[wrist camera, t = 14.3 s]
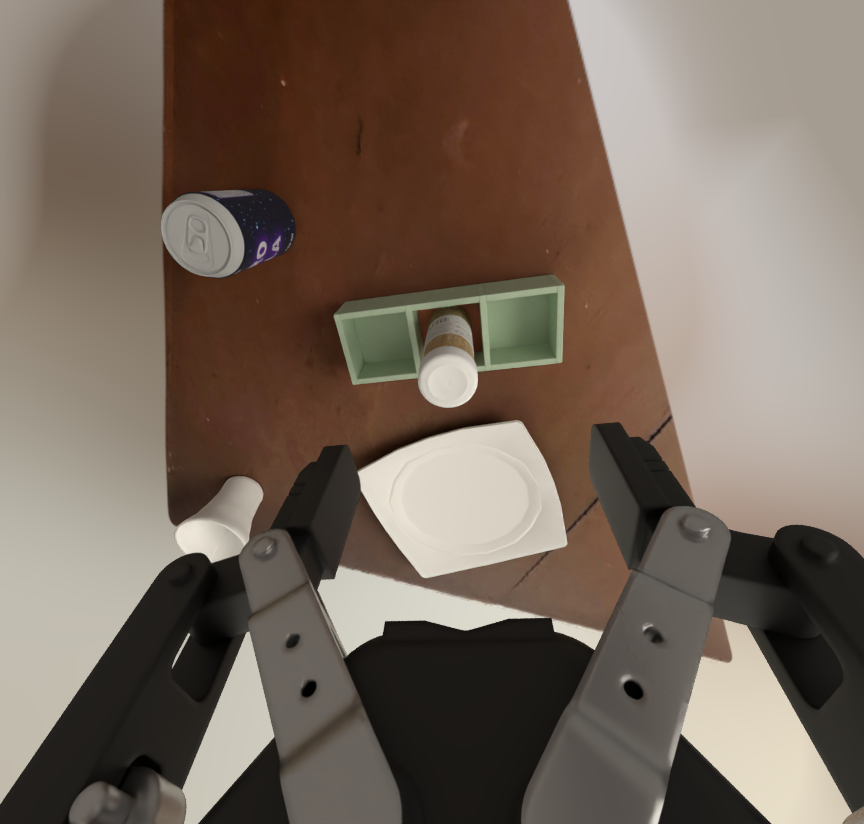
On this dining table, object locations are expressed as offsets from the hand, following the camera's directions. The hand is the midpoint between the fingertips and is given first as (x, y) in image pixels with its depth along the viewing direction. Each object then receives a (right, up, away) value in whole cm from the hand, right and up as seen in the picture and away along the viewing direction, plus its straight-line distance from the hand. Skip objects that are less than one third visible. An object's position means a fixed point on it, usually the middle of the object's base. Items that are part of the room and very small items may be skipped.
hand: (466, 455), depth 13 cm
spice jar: (+1, +11, +27) cm, 29 cm away
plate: (+3, -10, +41) cm, 42 cm away
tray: (+1, +11, +28) cm, 30 cm away
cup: (-28, -10, +43) cm, 52 cm away
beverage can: (-17, +20, +24) cm, 35 cm away
